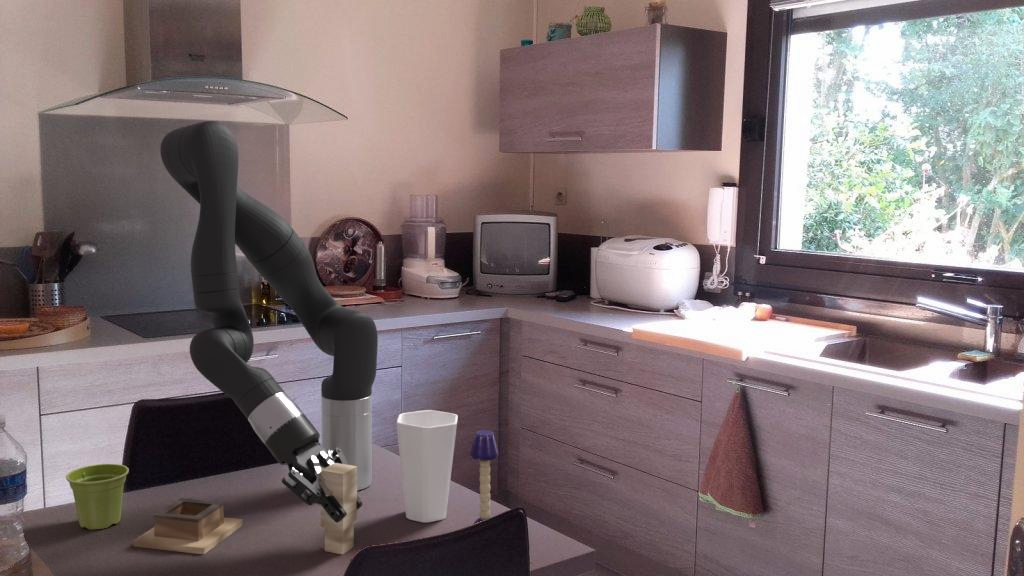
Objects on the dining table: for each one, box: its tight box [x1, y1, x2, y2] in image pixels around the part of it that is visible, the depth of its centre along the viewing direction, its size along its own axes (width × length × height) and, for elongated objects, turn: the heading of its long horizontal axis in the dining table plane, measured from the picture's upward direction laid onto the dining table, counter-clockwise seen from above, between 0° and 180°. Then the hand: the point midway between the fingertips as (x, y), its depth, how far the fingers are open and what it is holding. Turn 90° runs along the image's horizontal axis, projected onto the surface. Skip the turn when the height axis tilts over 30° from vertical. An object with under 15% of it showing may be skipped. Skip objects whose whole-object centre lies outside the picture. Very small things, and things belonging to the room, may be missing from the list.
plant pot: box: [65, 463, 130, 530], centre depth 148 cm, size 9×9×9 cm
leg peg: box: [320, 463, 358, 555], centre depth 140 cm, size 4×4×13 cm
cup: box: [395, 409, 459, 523], centre depth 154 cm, size 11×10×17 cm
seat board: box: [132, 497, 244, 555], centre depth 144 cm, size 12×12×4 cm
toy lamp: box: [469, 429, 499, 524], centre depth 148 cm, size 5×5×17 cm
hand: (350, 513), depth 139 cm, fingers closed on leg peg, 4 cm apart
